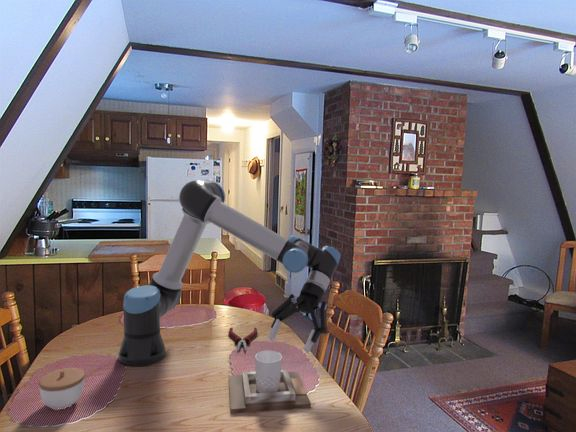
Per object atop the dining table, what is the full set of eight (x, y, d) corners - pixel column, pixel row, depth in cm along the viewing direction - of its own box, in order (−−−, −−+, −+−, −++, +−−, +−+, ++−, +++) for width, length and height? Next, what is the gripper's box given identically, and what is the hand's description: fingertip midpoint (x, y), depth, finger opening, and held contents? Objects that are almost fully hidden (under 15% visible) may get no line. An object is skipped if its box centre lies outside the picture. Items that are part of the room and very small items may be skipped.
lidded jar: (80, 412, 106) (79, 378, 105) (34, 418, 103) (33, 383, 102) (88, 391, 116) (87, 360, 115) (46, 395, 113) (45, 364, 112)
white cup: (284, 385, 121) (285, 353, 120) (275, 398, 113) (276, 364, 112) (260, 379, 123) (261, 348, 122) (249, 392, 116) (250, 359, 115)
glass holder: (230, 413, 108) (230, 402, 107) (228, 379, 125) (228, 369, 125) (310, 407, 112) (311, 396, 111) (297, 375, 129) (298, 365, 129)
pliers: (225, 354, 143) (225, 347, 143) (229, 332, 163) (229, 326, 163) (257, 354, 144) (257, 347, 144) (257, 332, 164) (257, 326, 164)
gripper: (351, 301, 131) (326, 361, 120) (289, 286, 145) (261, 339, 135) (344, 288, 126) (318, 350, 115) (280, 274, 140) (251, 329, 130)
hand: (287, 344), depth 125 cm, fingers open, 13 cm apart
